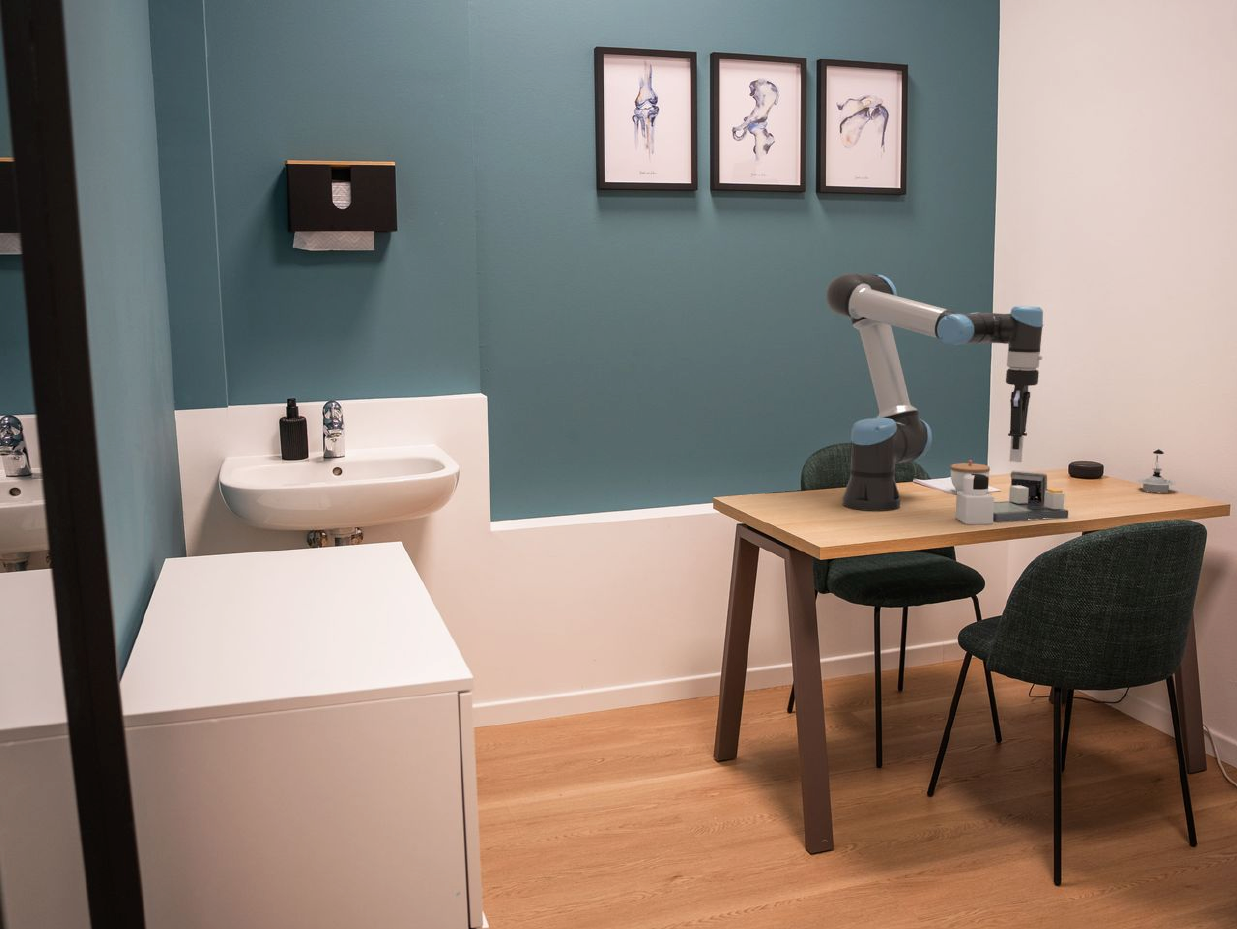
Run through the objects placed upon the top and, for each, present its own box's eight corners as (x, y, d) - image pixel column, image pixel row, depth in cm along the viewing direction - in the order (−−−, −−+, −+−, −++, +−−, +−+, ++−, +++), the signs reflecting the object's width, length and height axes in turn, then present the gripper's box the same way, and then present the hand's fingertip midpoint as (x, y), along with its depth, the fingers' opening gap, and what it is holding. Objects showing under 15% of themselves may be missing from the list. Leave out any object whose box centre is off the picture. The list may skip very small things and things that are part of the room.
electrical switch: (1047, 504, 283) (1048, 471, 280) (1043, 509, 278) (1044, 476, 276) (1011, 501, 288) (1012, 468, 285) (1007, 506, 283) (1008, 473, 281)
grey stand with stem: (1185, 451, 293) (1167, 446, 303) (1150, 451, 293) (1132, 446, 303) (1182, 494, 295) (1163, 487, 305) (1146, 494, 295) (1129, 488, 305)
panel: (996, 521, 262) (996, 514, 261) (967, 510, 275) (968, 503, 275) (1067, 518, 265) (1068, 510, 265) (1036, 507, 279) (1036, 499, 278)
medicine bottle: (982, 518, 266) (984, 472, 264) (993, 524, 259) (995, 477, 257) (955, 518, 266) (957, 472, 264) (965, 524, 259) (967, 477, 257)
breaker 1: (1017, 503, 273) (1018, 488, 272) (1009, 500, 276) (1009, 485, 276) (1027, 503, 273) (1028, 488, 272) (1019, 500, 277) (1020, 485, 276)
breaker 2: (1052, 509, 265) (1054, 491, 264) (1043, 506, 269) (1044, 488, 268) (1063, 508, 266) (1064, 491, 265) (1054, 505, 270) (1055, 488, 269)
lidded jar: (983, 489, 305) (985, 457, 303) (992, 496, 294) (994, 463, 293) (946, 488, 306) (947, 457, 304) (953, 495, 295) (955, 463, 294)
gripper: (1033, 371, 252) (1026, 466, 256) (1043, 367, 263) (1035, 459, 267) (1001, 369, 256) (994, 463, 260) (1012, 365, 267) (1005, 456, 271)
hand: (1015, 461), depth 264 cm, fingers closed
